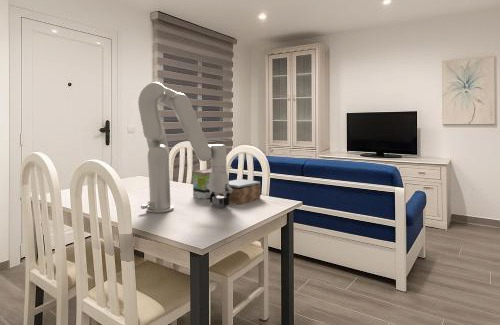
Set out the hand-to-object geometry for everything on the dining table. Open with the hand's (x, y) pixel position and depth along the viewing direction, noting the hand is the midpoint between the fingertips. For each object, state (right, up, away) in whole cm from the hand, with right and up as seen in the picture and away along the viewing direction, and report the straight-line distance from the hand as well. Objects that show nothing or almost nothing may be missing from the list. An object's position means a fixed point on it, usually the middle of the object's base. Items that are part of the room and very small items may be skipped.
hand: (219, 203), depth 173 cm
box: (+10, 0, +15) cm, 18 cm away
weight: (0, -2, 0) cm, 2 cm away
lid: (+10, +9, +14) cm, 19 cm away
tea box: (-8, +1, +25) cm, 26 cm away
